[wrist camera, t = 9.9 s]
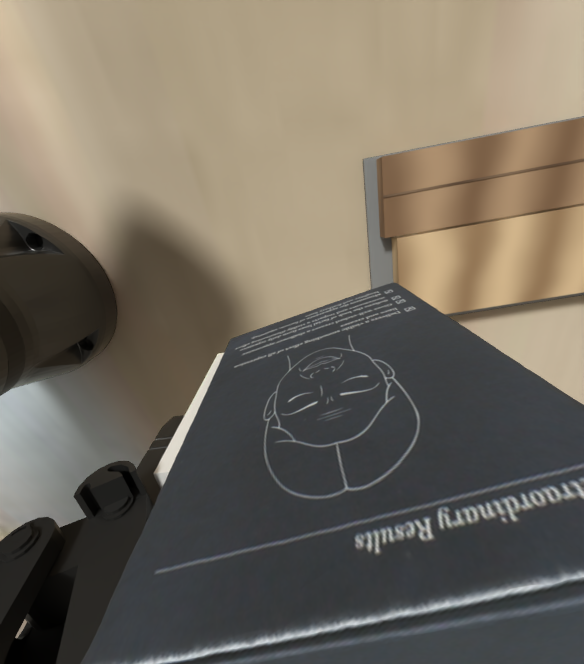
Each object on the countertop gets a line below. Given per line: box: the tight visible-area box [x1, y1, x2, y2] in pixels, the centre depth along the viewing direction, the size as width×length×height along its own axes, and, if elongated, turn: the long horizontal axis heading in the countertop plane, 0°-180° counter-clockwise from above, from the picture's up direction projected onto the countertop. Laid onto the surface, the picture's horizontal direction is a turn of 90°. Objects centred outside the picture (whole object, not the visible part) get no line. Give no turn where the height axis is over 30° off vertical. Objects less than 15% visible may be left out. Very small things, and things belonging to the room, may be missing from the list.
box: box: [81, 283, 584, 664], centre depth 9 cm, size 8×6×11 cm
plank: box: [391, 203, 584, 314], centre depth 25 cm, size 24×8×2 cm, turn 100°
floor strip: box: [376, 118, 584, 238], centre depth 23 cm, size 26×6×2 cm, turn 100°
